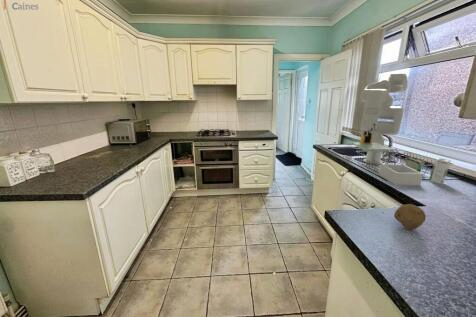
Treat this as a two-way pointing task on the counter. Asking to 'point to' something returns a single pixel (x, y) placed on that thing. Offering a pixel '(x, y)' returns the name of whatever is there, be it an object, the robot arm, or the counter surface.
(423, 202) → the counter surface
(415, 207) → the natural sponge
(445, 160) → the syrup box
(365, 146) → the lid
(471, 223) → the counter surface
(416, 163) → the food container
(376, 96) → the robot arm
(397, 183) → the tub
